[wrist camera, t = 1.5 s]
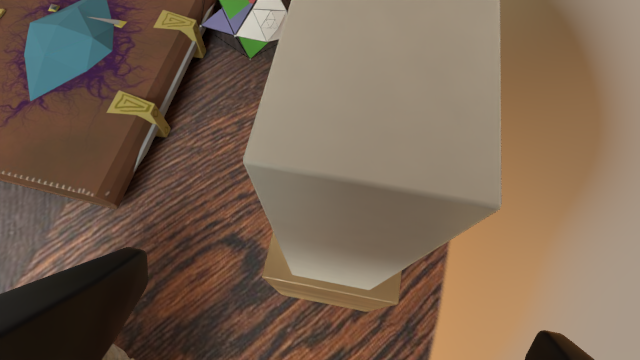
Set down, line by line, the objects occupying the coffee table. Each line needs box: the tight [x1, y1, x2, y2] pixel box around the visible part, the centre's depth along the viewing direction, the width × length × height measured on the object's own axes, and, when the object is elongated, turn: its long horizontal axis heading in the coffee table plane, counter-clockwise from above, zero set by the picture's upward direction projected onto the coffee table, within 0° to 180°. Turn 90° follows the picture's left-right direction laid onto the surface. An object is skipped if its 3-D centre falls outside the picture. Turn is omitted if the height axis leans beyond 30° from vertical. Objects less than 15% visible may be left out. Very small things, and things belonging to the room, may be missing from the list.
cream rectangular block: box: [243, 0, 502, 290], centre depth 10 cm, size 7×3×10 cm, turn 169°
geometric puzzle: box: [200, 0, 287, 60], centre depth 25 cm, size 7×7×8 cm
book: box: [0, 0, 217, 209], centre depth 26 cm, size 16×25×5 cm, turn 167°
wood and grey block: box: [262, 232, 402, 312], centre depth 15 cm, size 14×5×18 cm, turn 169°
